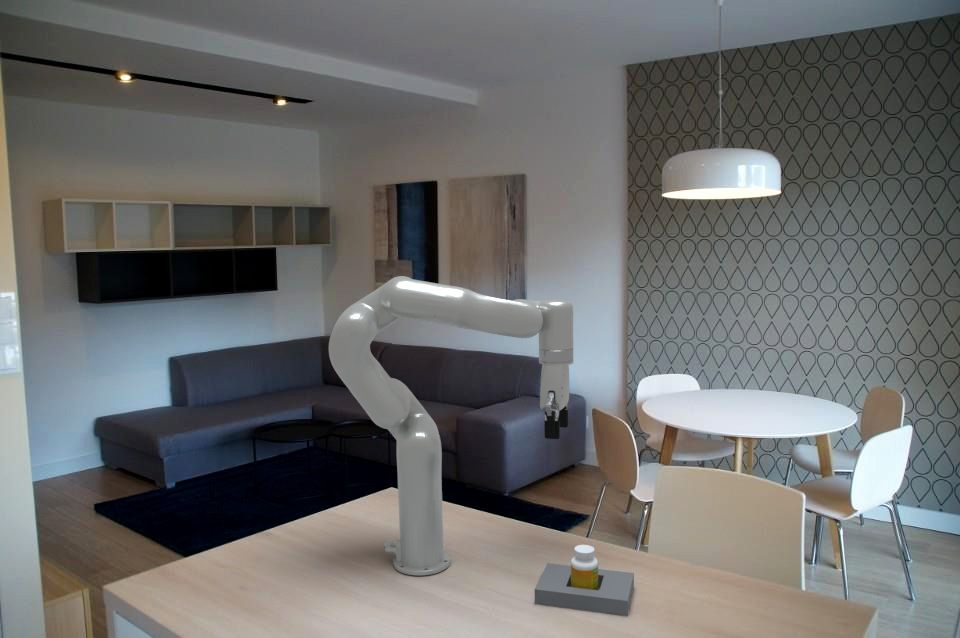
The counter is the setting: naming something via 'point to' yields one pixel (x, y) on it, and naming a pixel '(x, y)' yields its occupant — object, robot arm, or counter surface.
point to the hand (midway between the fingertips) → (556, 432)
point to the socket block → (585, 591)
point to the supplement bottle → (584, 568)
